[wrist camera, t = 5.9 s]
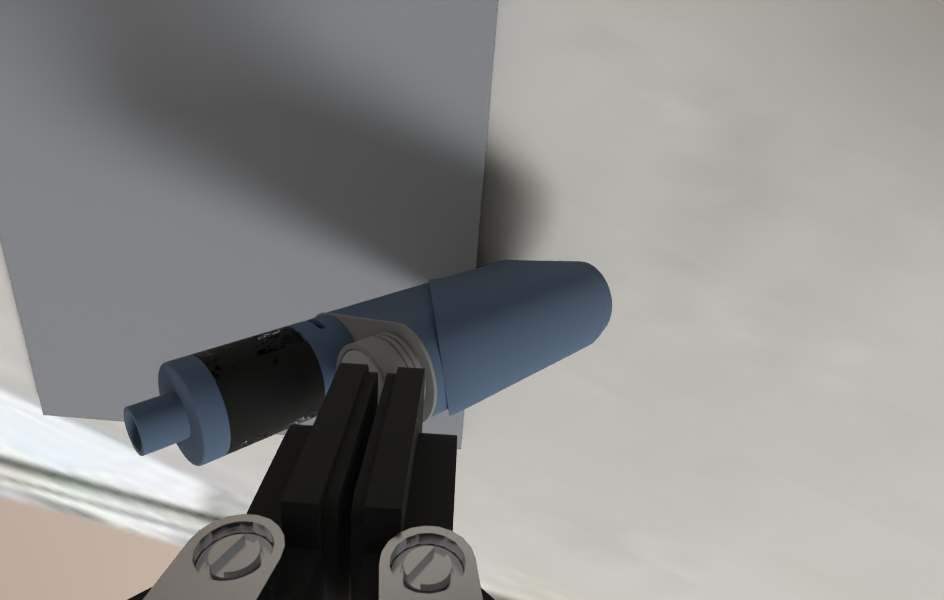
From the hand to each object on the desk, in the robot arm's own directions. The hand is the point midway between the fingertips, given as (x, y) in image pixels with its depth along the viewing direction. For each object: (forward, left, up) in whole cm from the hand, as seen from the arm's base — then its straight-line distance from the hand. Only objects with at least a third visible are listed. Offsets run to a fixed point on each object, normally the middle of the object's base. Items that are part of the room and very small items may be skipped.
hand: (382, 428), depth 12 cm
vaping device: (-4, 0, -8) cm, 9 cm away
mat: (+6, -1, -9) cm, 11 cm away
